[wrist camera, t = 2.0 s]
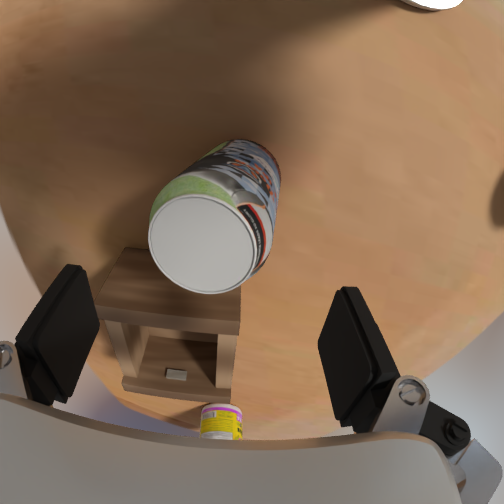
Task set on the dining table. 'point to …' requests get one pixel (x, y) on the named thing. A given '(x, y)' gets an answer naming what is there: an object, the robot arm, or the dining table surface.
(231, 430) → the supplement bottle
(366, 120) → the dining table surface
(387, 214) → the dining table surface
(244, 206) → the beverage can
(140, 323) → the holder
